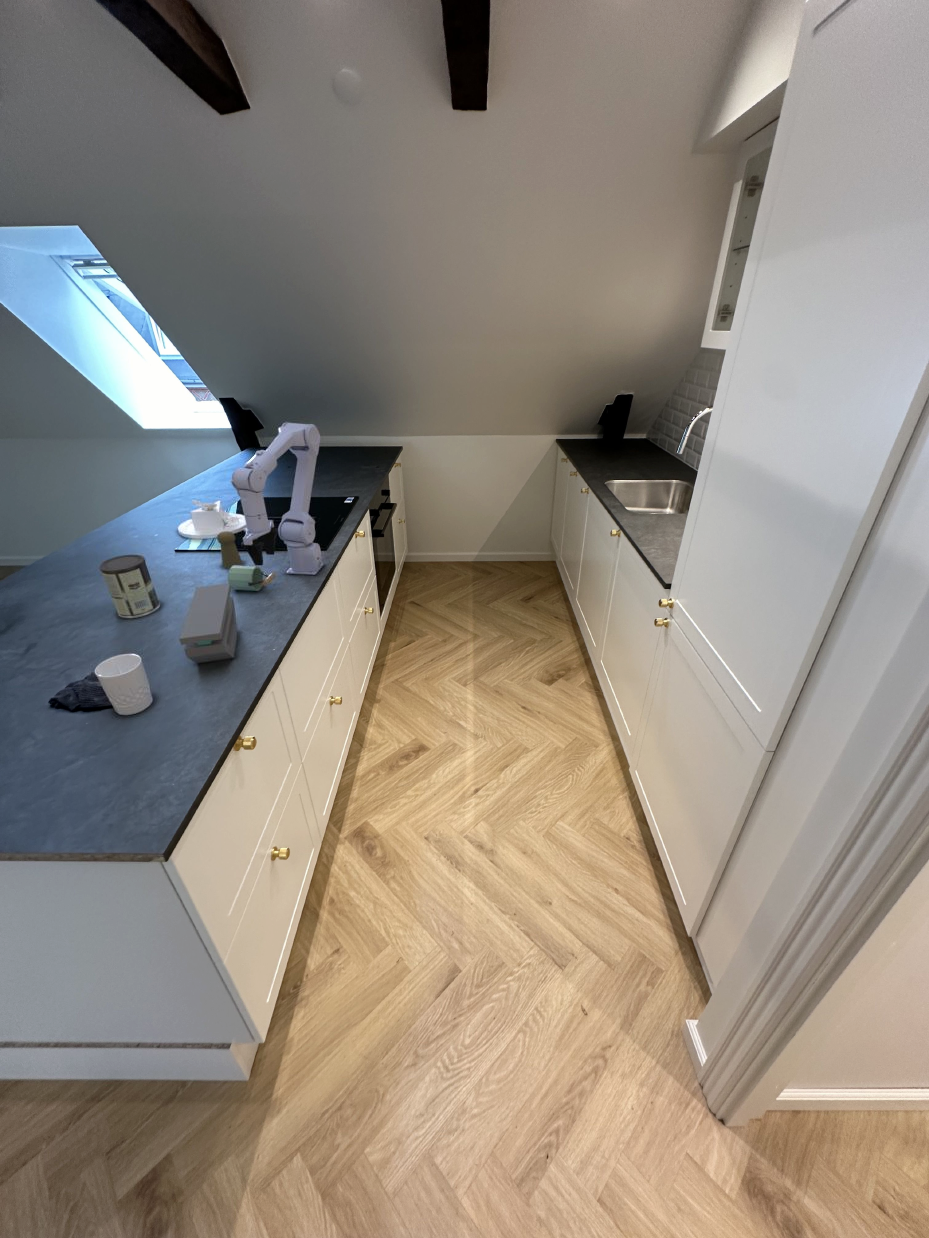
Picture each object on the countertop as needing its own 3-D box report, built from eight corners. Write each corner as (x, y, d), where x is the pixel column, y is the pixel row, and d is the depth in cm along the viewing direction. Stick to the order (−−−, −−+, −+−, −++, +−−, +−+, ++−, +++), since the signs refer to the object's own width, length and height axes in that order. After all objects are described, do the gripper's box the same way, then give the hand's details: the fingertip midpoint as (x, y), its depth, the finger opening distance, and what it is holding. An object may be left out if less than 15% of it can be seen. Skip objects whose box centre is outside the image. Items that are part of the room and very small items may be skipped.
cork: (235, 569, 162) (227, 536, 157) (218, 567, 163) (210, 535, 158) (246, 561, 167) (239, 530, 162) (229, 560, 168) (222, 528, 163)
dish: (234, 539, 185) (226, 508, 179) (165, 538, 185) (156, 508, 179) (258, 516, 206) (252, 489, 200) (197, 516, 206) (189, 488, 201)
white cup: (124, 693, 108) (107, 654, 103) (162, 691, 109) (148, 652, 104) (104, 718, 101) (85, 678, 96) (145, 716, 102) (129, 676, 97)
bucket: (243, 582, 154) (279, 583, 153) (230, 594, 147) (267, 596, 146) (238, 560, 151) (275, 562, 150) (224, 572, 144) (262, 574, 143)
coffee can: (140, 598, 145) (124, 552, 138) (168, 603, 142) (153, 557, 135) (108, 615, 137) (88, 567, 130) (137, 621, 134) (119, 572, 127)
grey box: (207, 624, 133) (196, 587, 127) (239, 620, 135) (229, 583, 129) (192, 680, 112) (179, 638, 107) (231, 674, 114) (219, 633, 109)
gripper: (253, 504, 145) (262, 549, 152) (227, 521, 132) (239, 569, 139) (277, 505, 144) (285, 550, 151) (253, 522, 132) (264, 570, 139)
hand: (264, 559), depth 145 cm, fingers open, 7 cm apart
